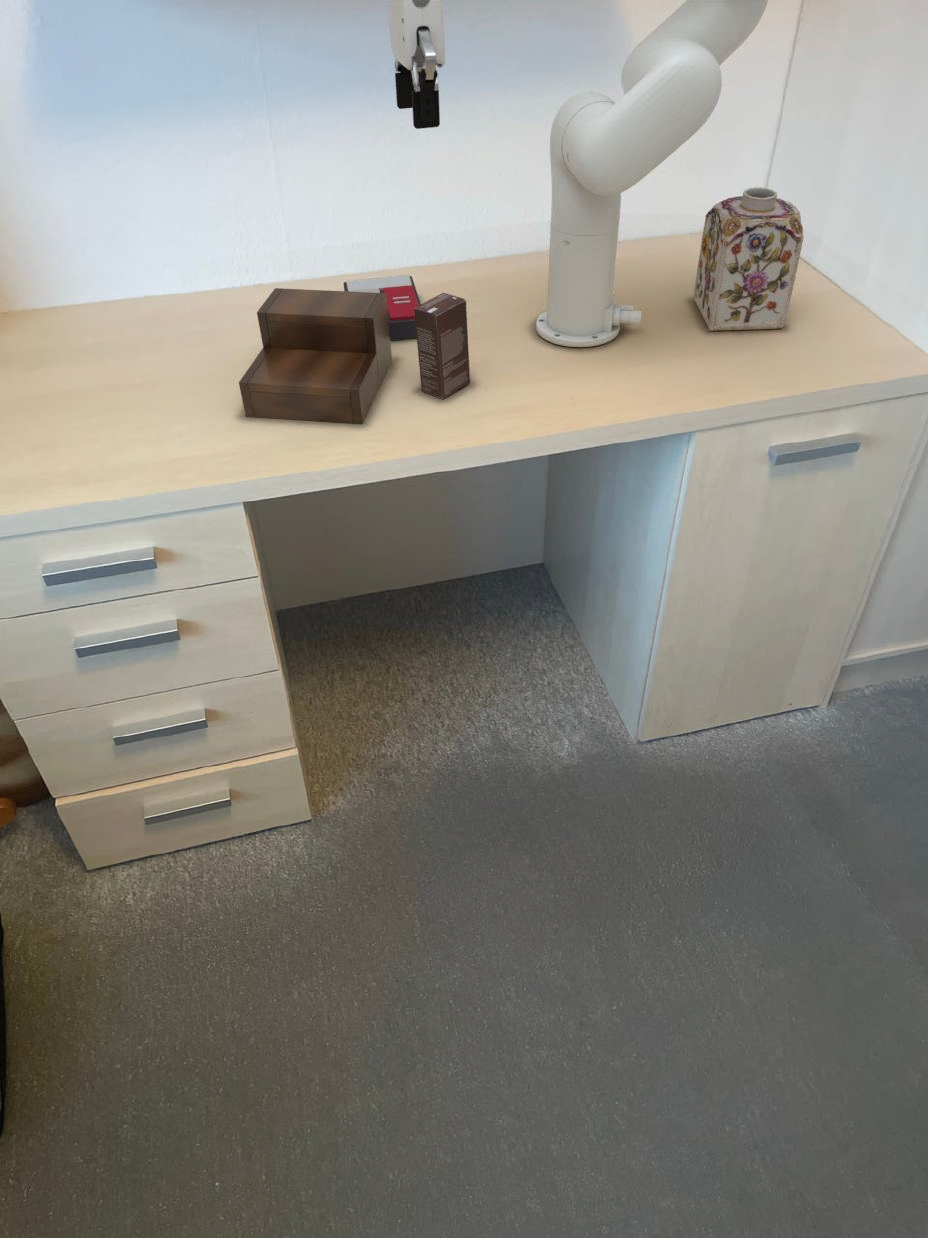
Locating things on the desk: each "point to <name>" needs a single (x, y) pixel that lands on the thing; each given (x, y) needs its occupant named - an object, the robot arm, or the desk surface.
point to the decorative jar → (748, 261)
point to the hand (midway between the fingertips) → (417, 116)
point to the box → (442, 344)
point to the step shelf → (318, 356)
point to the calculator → (393, 301)
